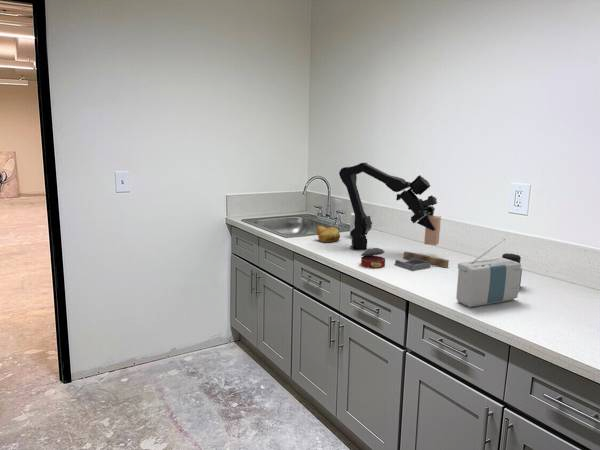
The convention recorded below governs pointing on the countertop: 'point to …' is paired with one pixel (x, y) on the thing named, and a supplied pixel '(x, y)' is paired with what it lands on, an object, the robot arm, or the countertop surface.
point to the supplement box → (352, 222)
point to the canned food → (372, 258)
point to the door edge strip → (427, 259)
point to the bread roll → (327, 234)
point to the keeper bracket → (413, 264)
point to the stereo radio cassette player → (488, 281)
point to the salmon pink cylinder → (430, 235)
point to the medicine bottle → (513, 259)
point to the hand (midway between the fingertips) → (435, 229)
